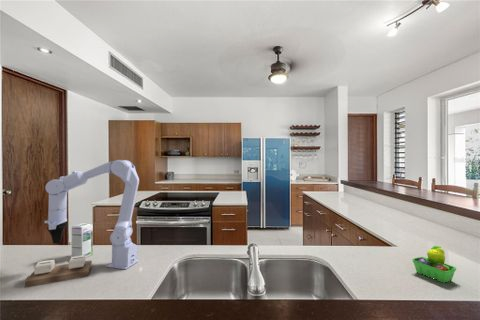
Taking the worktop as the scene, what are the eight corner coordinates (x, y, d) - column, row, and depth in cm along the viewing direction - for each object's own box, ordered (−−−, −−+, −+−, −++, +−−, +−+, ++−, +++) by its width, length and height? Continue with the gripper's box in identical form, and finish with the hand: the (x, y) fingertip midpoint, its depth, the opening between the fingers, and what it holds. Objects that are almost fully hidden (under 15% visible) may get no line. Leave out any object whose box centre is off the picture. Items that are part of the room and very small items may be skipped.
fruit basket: (411, 271, 89) (410, 243, 90) (424, 267, 93) (423, 240, 93) (446, 286, 79) (446, 254, 79) (459, 281, 82) (459, 250, 83)
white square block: (85, 261, 90) (85, 254, 90) (83, 266, 86) (83, 259, 86) (71, 263, 88) (71, 256, 88) (68, 268, 84) (68, 261, 84)
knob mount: (91, 265, 93) (91, 255, 93) (87, 275, 84) (87, 265, 84) (35, 274, 85) (35, 263, 85) (24, 287, 76) (24, 275, 76)
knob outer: (54, 266, 85) (54, 259, 86) (50, 271, 81) (50, 264, 81) (39, 269, 83) (39, 261, 83) (34, 274, 79) (34, 266, 79)
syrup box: (81, 259, 98) (82, 226, 98) (70, 258, 99) (71, 225, 100) (92, 254, 104) (93, 223, 104) (82, 253, 105) (82, 222, 105)
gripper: (50, 206, 95) (50, 238, 94) (38, 213, 82) (37, 250, 81) (71, 205, 98) (70, 236, 98) (62, 211, 85) (61, 247, 85)
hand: (57, 242), depth 90 cm, fingers closed
